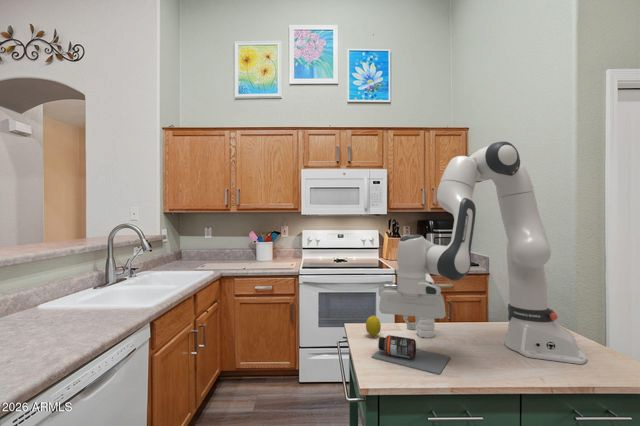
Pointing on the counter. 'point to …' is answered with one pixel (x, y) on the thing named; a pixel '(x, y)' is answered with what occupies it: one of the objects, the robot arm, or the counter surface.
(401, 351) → the supplement bottle
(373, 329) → the lemon
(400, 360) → the mat
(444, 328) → the counter surface
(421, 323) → the water bottle
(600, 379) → the counter surface
